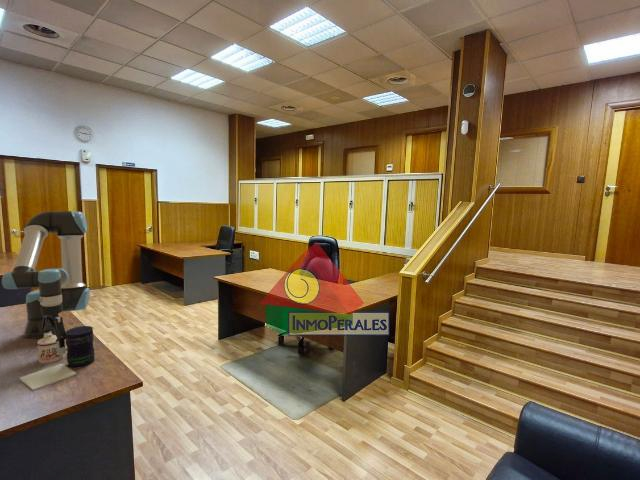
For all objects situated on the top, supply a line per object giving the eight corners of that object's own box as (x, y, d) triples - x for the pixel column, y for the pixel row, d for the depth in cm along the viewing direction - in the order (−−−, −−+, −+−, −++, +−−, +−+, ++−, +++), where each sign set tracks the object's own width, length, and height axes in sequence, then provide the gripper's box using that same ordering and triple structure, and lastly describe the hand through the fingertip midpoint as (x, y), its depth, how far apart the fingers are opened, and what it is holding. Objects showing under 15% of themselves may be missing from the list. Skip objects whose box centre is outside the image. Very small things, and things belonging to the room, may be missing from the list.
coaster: (19, 379, 130) (19, 377, 130) (61, 364, 142) (61, 363, 142) (33, 390, 122) (33, 389, 122) (76, 374, 134) (76, 373, 134)
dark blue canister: (63, 369, 137) (61, 336, 136) (71, 359, 147) (69, 327, 145) (91, 366, 141) (89, 333, 139) (97, 355, 150) (95, 324, 148)
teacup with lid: (37, 366, 140) (35, 340, 138) (38, 357, 147) (36, 333, 146) (72, 358, 147) (70, 333, 146) (72, 350, 154) (70, 327, 153)
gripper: (29, 301, 147) (33, 345, 150) (53, 312, 134) (56, 360, 137) (50, 297, 154) (53, 340, 156) (74, 307, 141) (77, 354, 143)
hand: (54, 350), depth 147 cm, fingers open, 13 cm apart
